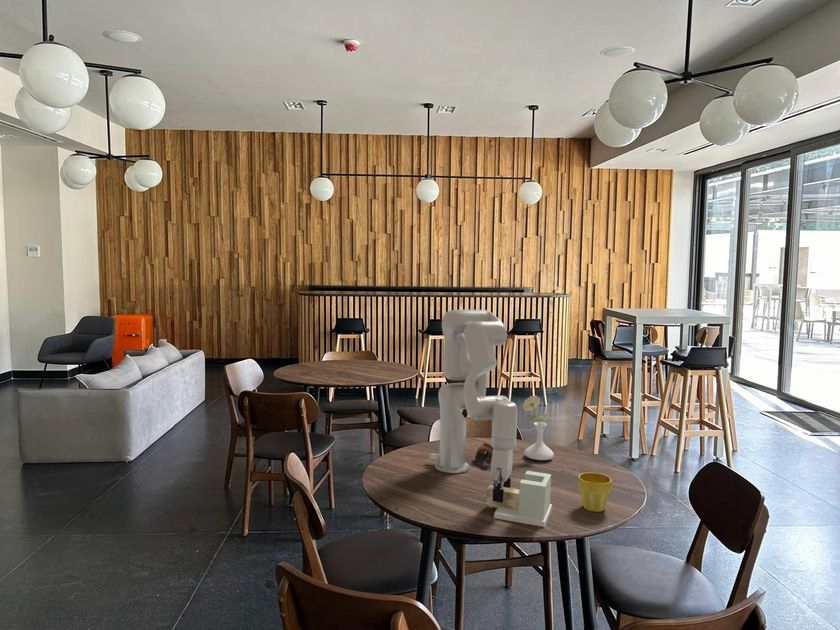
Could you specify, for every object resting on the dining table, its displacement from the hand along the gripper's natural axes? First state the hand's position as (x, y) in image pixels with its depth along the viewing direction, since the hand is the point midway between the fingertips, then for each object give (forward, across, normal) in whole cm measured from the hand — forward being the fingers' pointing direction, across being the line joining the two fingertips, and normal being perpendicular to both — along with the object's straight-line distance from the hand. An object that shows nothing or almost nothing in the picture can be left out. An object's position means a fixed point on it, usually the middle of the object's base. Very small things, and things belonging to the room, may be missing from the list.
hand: (501, 495), depth 185 cm
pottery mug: (+5, -41, -15) cm, 44 cm away
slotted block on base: (+4, 0, +7) cm, 8 cm away
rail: (+3, 0, +4) cm, 5 cm away
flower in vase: (+5, -54, +2) cm, 55 cm away
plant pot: (+5, -13, +26) cm, 30 cm away
